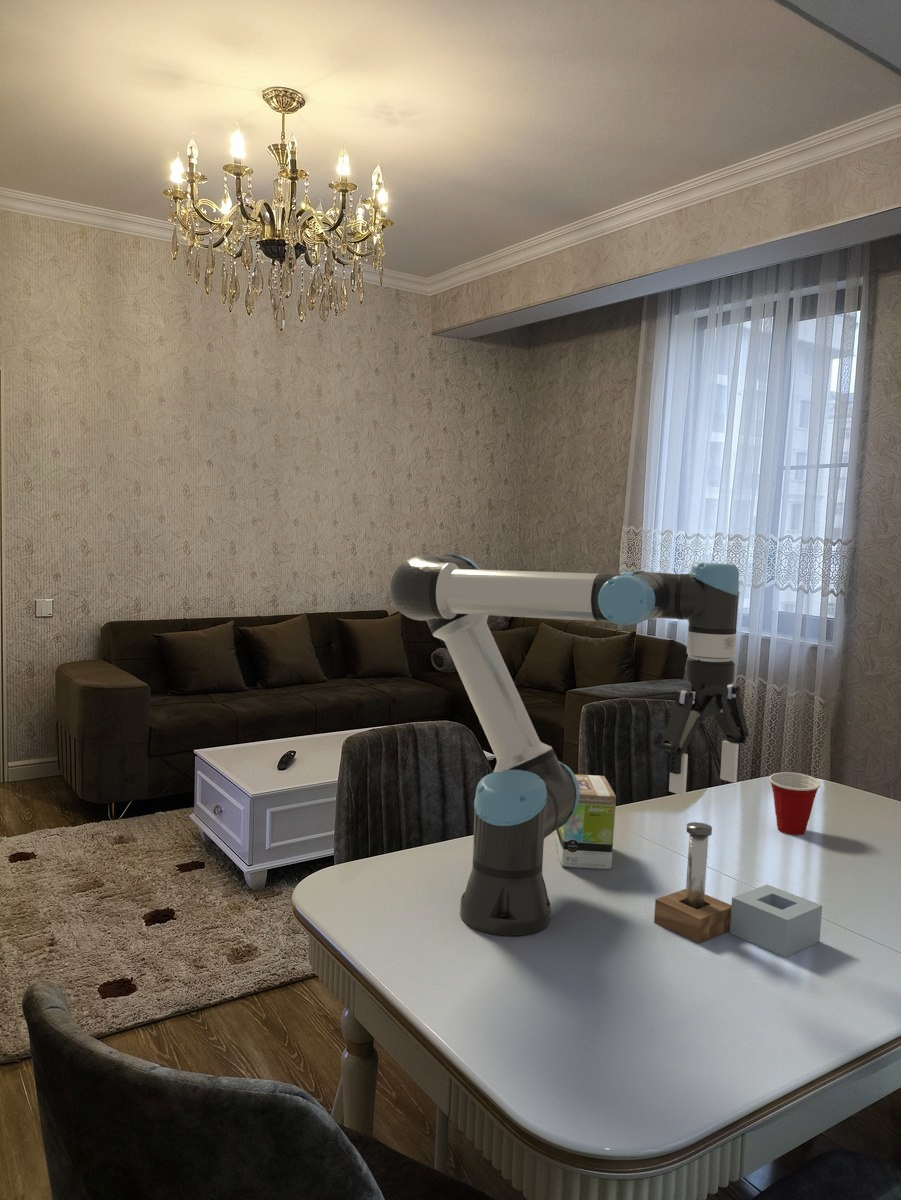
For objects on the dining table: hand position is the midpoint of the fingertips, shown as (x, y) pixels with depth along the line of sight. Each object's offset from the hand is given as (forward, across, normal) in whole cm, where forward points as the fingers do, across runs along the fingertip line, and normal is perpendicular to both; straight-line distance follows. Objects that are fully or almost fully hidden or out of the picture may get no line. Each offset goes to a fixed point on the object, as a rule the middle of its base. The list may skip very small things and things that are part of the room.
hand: (703, 786), depth 146 cm
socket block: (+24, +8, -10) cm, 27 cm away
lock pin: (+24, 0, 0) cm, 24 cm away
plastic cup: (+24, +59, +18) cm, 66 cm away
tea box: (+24, +8, +33) cm, 42 cm away
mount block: (+24, 0, 0) cm, 24 cm away
